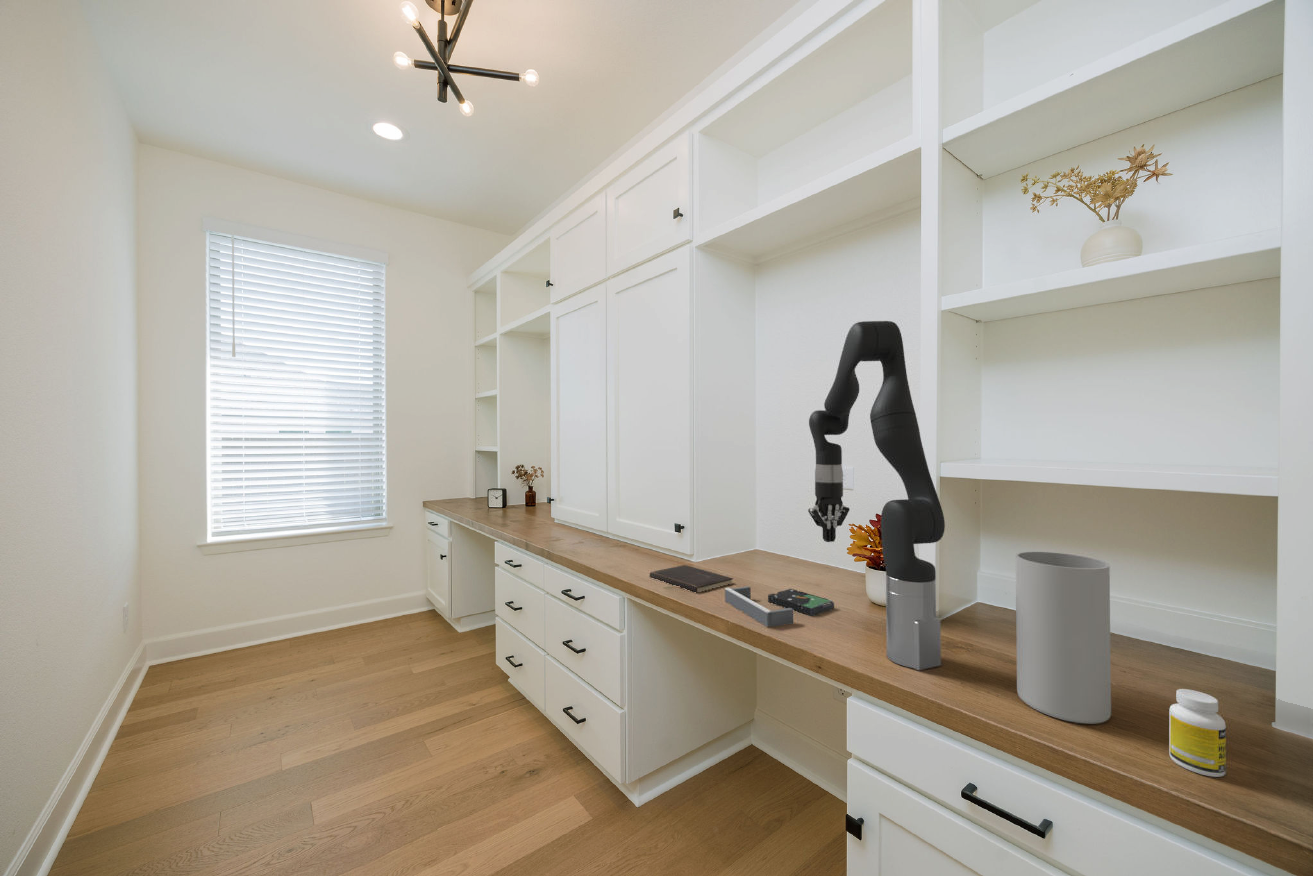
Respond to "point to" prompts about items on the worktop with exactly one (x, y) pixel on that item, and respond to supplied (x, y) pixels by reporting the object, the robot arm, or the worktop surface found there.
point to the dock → (757, 608)
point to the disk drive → (801, 602)
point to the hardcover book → (691, 578)
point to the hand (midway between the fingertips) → (829, 541)
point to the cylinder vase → (1064, 635)
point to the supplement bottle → (1197, 733)
